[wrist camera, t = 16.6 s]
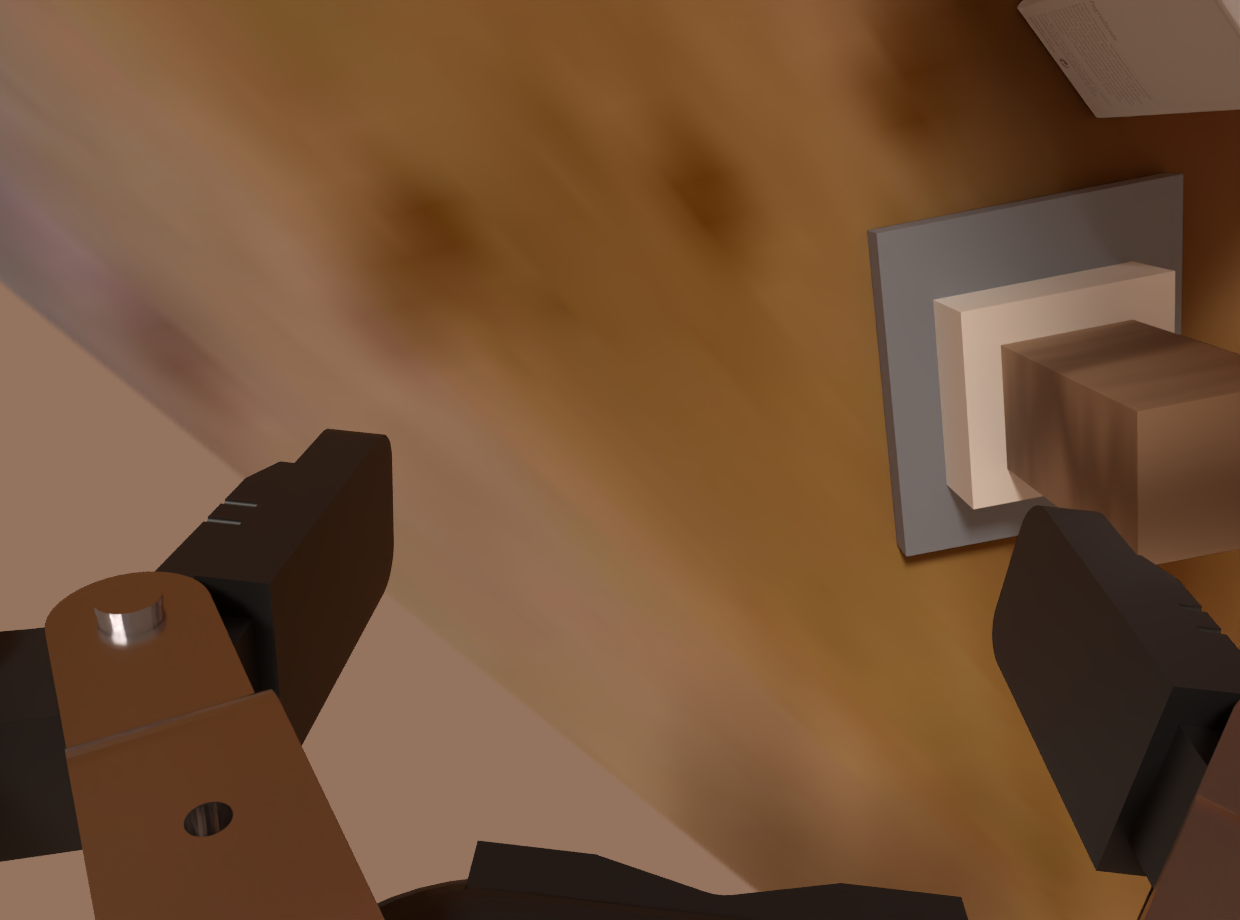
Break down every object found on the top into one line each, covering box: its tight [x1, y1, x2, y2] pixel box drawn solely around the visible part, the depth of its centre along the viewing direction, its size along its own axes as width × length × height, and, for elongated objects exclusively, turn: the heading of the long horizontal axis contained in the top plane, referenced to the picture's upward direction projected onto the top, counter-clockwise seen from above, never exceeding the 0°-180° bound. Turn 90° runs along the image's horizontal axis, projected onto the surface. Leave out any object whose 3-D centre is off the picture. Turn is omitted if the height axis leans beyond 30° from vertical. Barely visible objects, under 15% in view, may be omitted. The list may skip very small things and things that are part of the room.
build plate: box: [867, 173, 1184, 557], centre depth 38 cm, size 14×12×4 cm
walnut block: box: [1001, 320, 1240, 565], centre depth 32 cm, size 5×5×9 cm
